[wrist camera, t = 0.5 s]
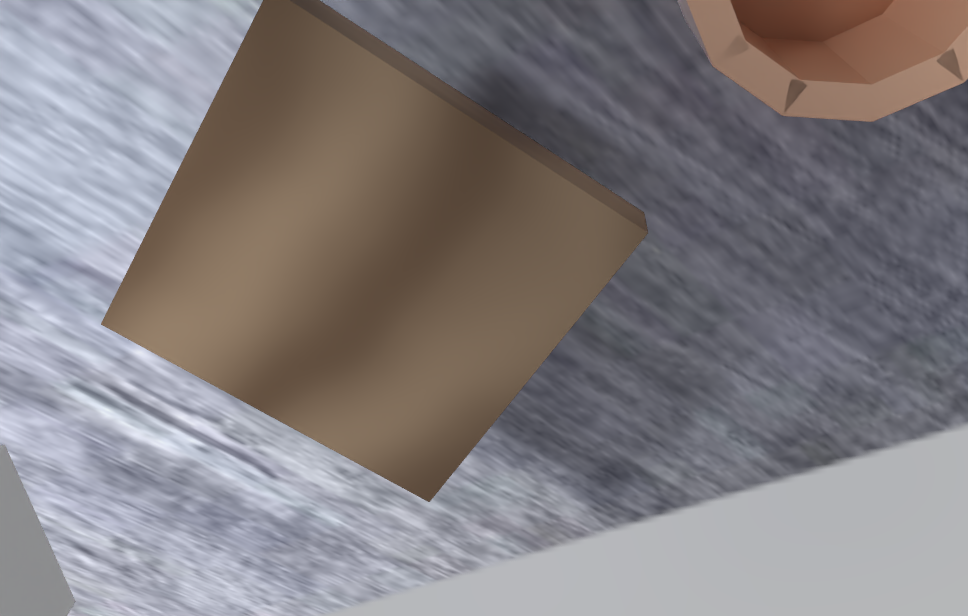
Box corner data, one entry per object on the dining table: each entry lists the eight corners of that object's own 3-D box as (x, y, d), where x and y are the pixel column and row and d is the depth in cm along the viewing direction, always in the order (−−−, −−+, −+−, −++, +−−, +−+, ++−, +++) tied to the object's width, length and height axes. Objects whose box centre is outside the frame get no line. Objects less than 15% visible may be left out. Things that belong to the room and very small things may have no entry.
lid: (121, 301, 30) (100, 324, 29) (285, -22, 25) (269, -13, 23) (434, 474, 32) (429, 502, 31) (644, 212, 27) (648, 232, 26)
